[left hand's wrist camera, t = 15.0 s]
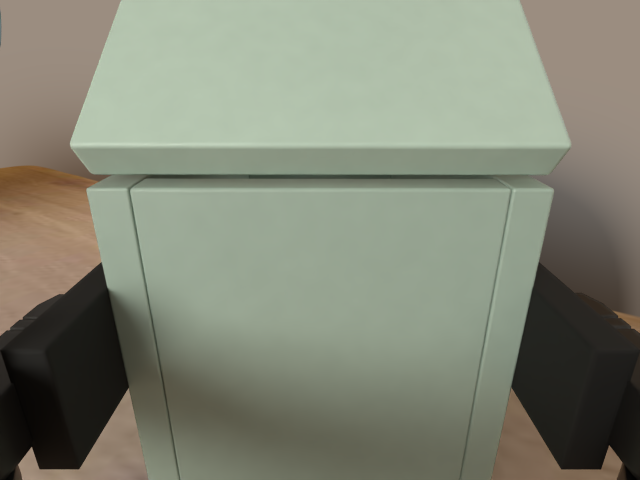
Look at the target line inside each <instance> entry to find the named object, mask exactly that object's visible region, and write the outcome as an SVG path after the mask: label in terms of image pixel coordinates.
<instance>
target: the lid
mask: <svg viewBox="0 0 640 480" xmlns="http://www.w3.org/2000/svg"><path fill="white" fill-rule="evenodd" d="M70 146H71V149H72V150H73V151H74V152H75V154H76V155H77V156H78V158H79V159H80V160H81V161H82V163H83V164H84V165H85V166H86V168H87V169H88V170H89V172H90V173H92V174H95V175H548V174H550V173H551V172H552V171H553V170H554V169H555V167H556V166H557V165H558V164H559V162H560V161H561V160H562V159H563V157H564V156H565V155H566V153H567V152H568V151H569V150H570V148H571V141H570V138H569V135H568V133H567V130H566V127H565V124H564V122H563V119H562V116H561V113H560V110H559V108H558V105H557V102H556V99H555V97H554V94H553V91H552V88H551V85H550V83H549V80H548V77H547V74H546V72H545V69H544V66H543V63H542V60H541V58H540V55H539V52H538V49H537V47H536V44H535V41H534V38H533V36H532V33H531V30H530V27H529V24H528V22H527V19H526V16H525V13H524V10H523V8H522V5H521V2H520V0H121V2H120V5H119V8H118V11H117V13H116V16H115V19H114V22H113V25H112V27H111V30H110V33H109V36H108V38H107V41H106V44H105V47H104V50H103V52H102V55H101V58H100V61H99V63H98V66H97V69H96V72H95V74H94V77H93V80H92V83H91V86H90V88H89V91H88V94H87V97H86V100H85V102H84V105H83V108H82V111H81V113H80V116H79V119H78V122H77V125H76V127H75V130H74V133H73V136H72V138H71V141H70Z"/></svg>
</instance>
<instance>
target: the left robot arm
mask: <svg viewBox="0 0 640 480" xmlns="http://www.w3.org/2000/svg"><path fill="white" fill-rule="evenodd" d="M511 387H512V389H513V390H514V392H515V394H516V395H517V397H518V399H519V400H520V402H521V404H522V405H523V407H524V409H525V410H526V412H527V414H528V415H529V417H530V418H531V420H532V422H533V423H534V425H535V427H536V428H537V430H538V432H539V433H540V435H541V437H542V438H543V440H544V442H545V443H546V445H547V447H548V448H549V450H550V451H551V453H552V455H553V456H554V458H555V460H556V461H557V463H558V465H559V466H560V468H561V469H601V468H602V465H603V462H604V459H605V456H606V453H607V450H608V447H609V445H610V447H611V448H612V449H613V450H614V452H615V453H616V454H617V456H618V457H619V458H620V459H621V461H622V462H623V464H622V466H621V469H620V472H619V475H618V478H617V480H640V333H638V332H637V331H636V330H635V329H631V326H630V325H629V324H627V323H626V322H625V321H624V320H623V319H621V318H618V315H616V314H615V313H614V312H613V311H612V310H610V309H609V308H608V307H607V306H605V305H604V304H603V303H601V302H599V301H597V300H595V299H593V298H591V297H589V296H587V295H585V294H583V293H574V292H573V291H572V290H570V289H569V288H568V287H567V286H566V285H565V284H564V283H562V282H561V281H560V280H559V279H558V278H557V277H555V276H554V275H553V274H552V273H551V272H550V271H548V270H547V269H546V268H545V267H544V266H543V265H542V264H540V263H538V268H537V272H536V277H535V281H534V286H533V290H532V294H531V299H530V303H529V308H528V312H527V317H526V322H525V326H524V331H523V335H522V340H521V345H520V349H519V354H518V358H517V363H516V368H515V372H514V377H513V381H512V386H511ZM128 388H129V385H128V381H127V376H126V372H125V367H124V362H123V358H122V353H121V348H120V344H119V339H118V335H117V330H116V325H115V321H114V316H113V311H112V307H111V302H110V298H109V293H108V288H107V284H106V279H105V274H104V270H103V265H102V262H101V263H100V264H99V265H98V266H96V267H95V268H94V269H93V270H92V271H91V272H90V273H88V274H87V275H86V276H85V277H84V278H83V279H82V280H80V281H79V282H78V283H77V284H76V285H75V286H73V287H72V288H71V289H70V290H69V291H68V292H67V293H65V294H59V295H57V296H55V297H53V298H51V299H49V300H47V301H45V302H43V303H41V304H39V305H37V306H36V307H35V308H34V309H32V310H31V311H30V312H29V313H28V314H26V315H25V316H24V317H23V320H19V321H18V322H17V323H15V324H14V325H13V326H12V327H11V328H10V331H6V332H5V333H3V334H2V335H1V336H0V480H22V476H21V472H20V469H19V466H18V464H19V462H20V461H21V460H22V459H23V457H24V456H25V455H26V453H27V452H28V451H29V449H30V448H31V447H32V448H33V451H34V454H35V457H36V460H37V463H38V466H39V469H80V467H81V465H82V464H83V462H84V460H85V459H86V457H87V455H88V454H89V452H90V450H91V449H92V447H93V446H94V444H95V442H96V441H97V439H98V437H99V436H100V434H101V432H102V431H103V429H104V427H105V426H106V424H107V422H108V421H109V419H110V418H111V416H112V414H113V413H114V411H115V409H116V408H117V406H118V404H119V403H120V401H121V399H122V398H123V396H124V394H125V393H126V391H127V389H128Z"/></svg>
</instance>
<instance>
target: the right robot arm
mask: <svg viewBox="0 0 640 480" xmlns="http://www.w3.org/2000/svg"><path fill="white" fill-rule="evenodd" d="M0 45H1V13H0Z"/></svg>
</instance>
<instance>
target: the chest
mask: <svg viewBox="0 0 640 480" xmlns="http://www.w3.org/2000/svg"><path fill="white" fill-rule="evenodd" d="M553 194H554V189H552V188H551V187H549V186H547V185H545V184H543V183H541V182H539V181H537V180H536V179H534V178H532V177H530V176H528V175H111V176H109V177H107V178H106V179H104V180H102V181H100V182H98V183H96V184H94V185H92V186H90V187H89V188H87V195H88V200H89V205H90V209H91V214H92V218H93V223H94V228H95V232H96V237H97V242H98V246H99V251H100V256H101V260H102V265H103V270H104V274H105V279H106V284H107V288H108V293H109V298H110V302H111V307H112V311H113V316H114V321H115V325H116V330H117V335H118V339H119V344H120V348H121V353H122V358H123V362H124V367H125V372H126V376H127V381H128V385H129V391H130V395H131V400H132V404H133V409H134V414H135V418H136V423H137V428H138V432H139V437H140V442H141V446H142V451H143V456H144V460H145V465H146V470H147V474H148V479H149V480H491V478H492V473H493V468H494V464H495V459H496V455H497V450H498V446H499V441H500V436H501V432H502V427H503V423H504V418H505V414H506V409H507V405H508V400H509V395H510V391H511V386H512V381H513V377H514V372H515V368H516V363H517V358H518V354H519V349H520V345H521V340H522V335H523V331H524V326H525V322H526V317H527V312H528V308H529V303H530V299H531V294H532V290H533V286H534V281H535V277H536V272H537V268H538V263H539V258H540V254H541V249H542V245H543V240H544V235H545V231H546V226H547V222H548V217H549V213H550V208H551V203H552V199H553Z"/></svg>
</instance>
